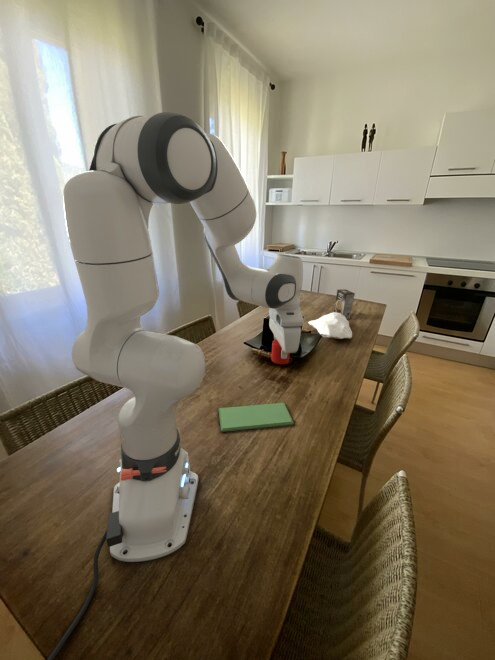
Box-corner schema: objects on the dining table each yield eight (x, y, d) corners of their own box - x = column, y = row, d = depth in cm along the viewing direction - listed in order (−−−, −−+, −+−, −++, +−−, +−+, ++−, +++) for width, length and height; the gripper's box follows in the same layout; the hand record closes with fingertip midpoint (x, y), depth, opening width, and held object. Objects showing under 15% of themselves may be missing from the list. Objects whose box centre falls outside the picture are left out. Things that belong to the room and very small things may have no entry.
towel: (293, 424, 85) (293, 422, 84) (221, 432, 81) (221, 429, 81) (284, 403, 94) (284, 401, 94) (218, 409, 90) (218, 407, 90)
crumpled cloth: (298, 338, 139) (303, 321, 135) (314, 316, 168) (318, 302, 164) (346, 354, 132) (352, 338, 128) (353, 328, 161) (359, 314, 157)
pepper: (291, 363, 86) (293, 342, 84) (273, 364, 86) (275, 343, 83) (286, 355, 92) (288, 334, 89) (269, 356, 91) (270, 335, 88)
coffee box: (332, 314, 177) (336, 289, 171) (341, 313, 179) (345, 288, 173) (341, 319, 169) (345, 293, 163) (350, 318, 171) (355, 292, 165)
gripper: (265, 300, 91) (263, 339, 96) (283, 323, 72) (279, 369, 78) (284, 300, 92) (281, 338, 97) (306, 322, 73) (300, 368, 79)
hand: (280, 352), depth 87 cm, fingers closed on pepper, 5 cm apart
